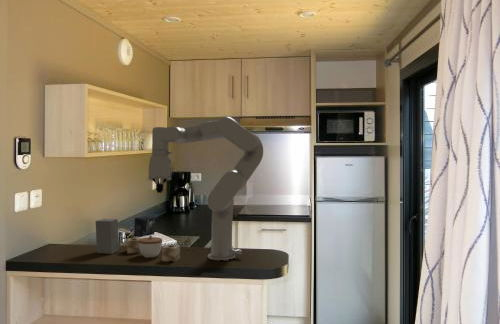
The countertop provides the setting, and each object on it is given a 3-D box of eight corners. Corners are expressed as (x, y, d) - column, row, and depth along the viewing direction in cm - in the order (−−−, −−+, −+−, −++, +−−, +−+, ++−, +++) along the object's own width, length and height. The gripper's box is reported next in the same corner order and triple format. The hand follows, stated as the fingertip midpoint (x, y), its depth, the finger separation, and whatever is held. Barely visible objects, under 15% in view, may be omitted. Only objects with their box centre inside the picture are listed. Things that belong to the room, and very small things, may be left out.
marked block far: (140, 250, 202) (140, 237, 202) (140, 252, 196) (140, 240, 196) (127, 250, 200) (128, 237, 200) (127, 253, 194) (127, 240, 194)
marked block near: (179, 258, 186) (180, 245, 186) (174, 262, 180) (175, 247, 180) (167, 258, 187) (167, 244, 187) (162, 261, 181) (162, 247, 181)
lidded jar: (150, 252, 197) (150, 232, 197) (166, 255, 192) (167, 235, 192) (133, 256, 188) (133, 236, 188) (150, 260, 182) (150, 239, 182)
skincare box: (119, 251, 198) (119, 218, 198) (110, 254, 191) (110, 220, 191) (103, 250, 200) (104, 217, 200) (94, 253, 193) (95, 219, 193)
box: (141, 236, 235) (141, 218, 235) (133, 235, 238) (133, 217, 238) (155, 234, 244) (155, 216, 244) (147, 232, 247) (147, 215, 247)
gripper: (177, 153, 197) (177, 192, 197) (146, 153, 197) (146, 191, 197) (174, 153, 189) (173, 193, 190) (142, 153, 190) (141, 192, 190)
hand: (159, 192), depth 193 cm, fingers closed
